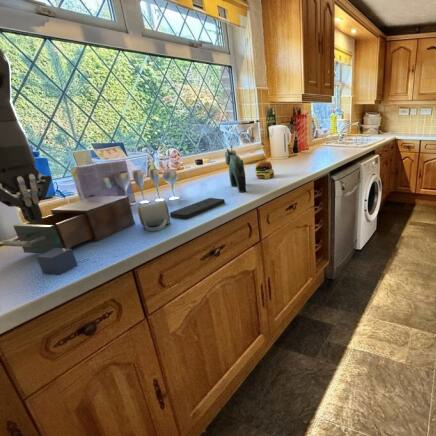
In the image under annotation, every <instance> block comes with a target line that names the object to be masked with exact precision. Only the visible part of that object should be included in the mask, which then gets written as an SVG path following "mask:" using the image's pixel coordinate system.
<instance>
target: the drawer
mask: <svg viewBox="0 0 436 436" xmlns="http://www.w3.org/2000/svg"><path fill="white" fill-rule="evenodd" d="M12 226H13V228H14V229H13V230H14V231H15V233H16V236H17V237H15V238H13V239H10V240H7V239H5V240H3V241H2V243H1V244H2V246H3V247H15V248H17V247H20V248H22V250H23V253H26V254H39V255H41V254H43V253H45V252H48V251H50V250H52V249H55V248H67V249H72V248H73V247H75V246H77V245H79V244H82V243H84V242H87V241H86V240H88V239H91V238H93V237H94V236H93V233H92V230H91V227H90V224H89V221H88V218H87V215H86V213H63V212H58V213H55V214H52V213H51V214H49V215H47V216H42V220H40V221H37V222H28V221H27V222H26V223H17V224H14V225H12Z"/></svg>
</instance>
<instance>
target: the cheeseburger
mask: <svg viewBox="0 0 436 436" xmlns="http://www.w3.org/2000/svg"><path fill="white" fill-rule="evenodd" d="M255 176H256V177H257V179H266V180H269V179H271V178H272V177H274V176H275V170H274V169H273V165H272V163H271V162H270V161H267V160H261V161H258V162H257V163H256V165H255Z"/></svg>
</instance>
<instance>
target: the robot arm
mask: <svg viewBox="0 0 436 436" xmlns="http://www.w3.org/2000/svg"><path fill="white" fill-rule="evenodd" d="M10 64H11V63H10V61H9V58H8V56H7V55H6V53H5V51H3V49H2V48H0V203H2V204H3V205H5V206H7V207H8V208H9V207H10V208H11V207H12V208H13V207H18V208H19V209H20V211H21V215H22V216H23V219H24V221H26V222H27V223H28V222H37V221H40V220H42V218H43V213H42V211H41V208H40V202H41V201H43V200H45V199H46V197H47V194H48V191H49V188H50V185H51V182H52V177H51V175H44V174H42V173H40V171H39V169H38V168H37V167H36V166H35V165H36V163H37V161H36V159H35V155H34V153H33V150H32V148H31V145H30V142H29V139H28V136H27V134H26V132H25V129H24V128H23V126H22V124H21V122H20V120H19V117H18V114H17V111H16V108H15V106H14V103H13V100H12V81H11V78H12V77H11V75H12V74H11V65H10Z"/></svg>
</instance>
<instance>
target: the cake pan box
mask: <svg viewBox="0 0 436 436" xmlns="http://www.w3.org/2000/svg"><path fill="white" fill-rule="evenodd" d="M69 169H70V172H71V176H72V179H73V183H74V186H75V189H76V193H77V195H78V199H79V201H80V200H83V199H86V198H90V197H93V196H126V195H125V193H124V191H123V190H122V189H121V188H120V187H119V186H118V185H117V184H116V183H115V181H114V177H113V173H114V174H121V172H128V174H129V178H130V183H129V185H128V187H127V190H126V192H127V196H128V199H129V202H134V201H135V202H136V200H137V199H136V196H135V193H134V189H133V184H132V181H131V177H130V172H129V168H128V163H127V161H126V159H122V160H121V159H119V160H113V161H106V162H105V161H104V162H98V163H97V162H96V163H89V164H83V165H76V166H70V167H69ZM108 177H110V178H111V180H112V187H111V188H107V187H105V185H104V183H103V178H108ZM135 202H134V203H135Z"/></svg>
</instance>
